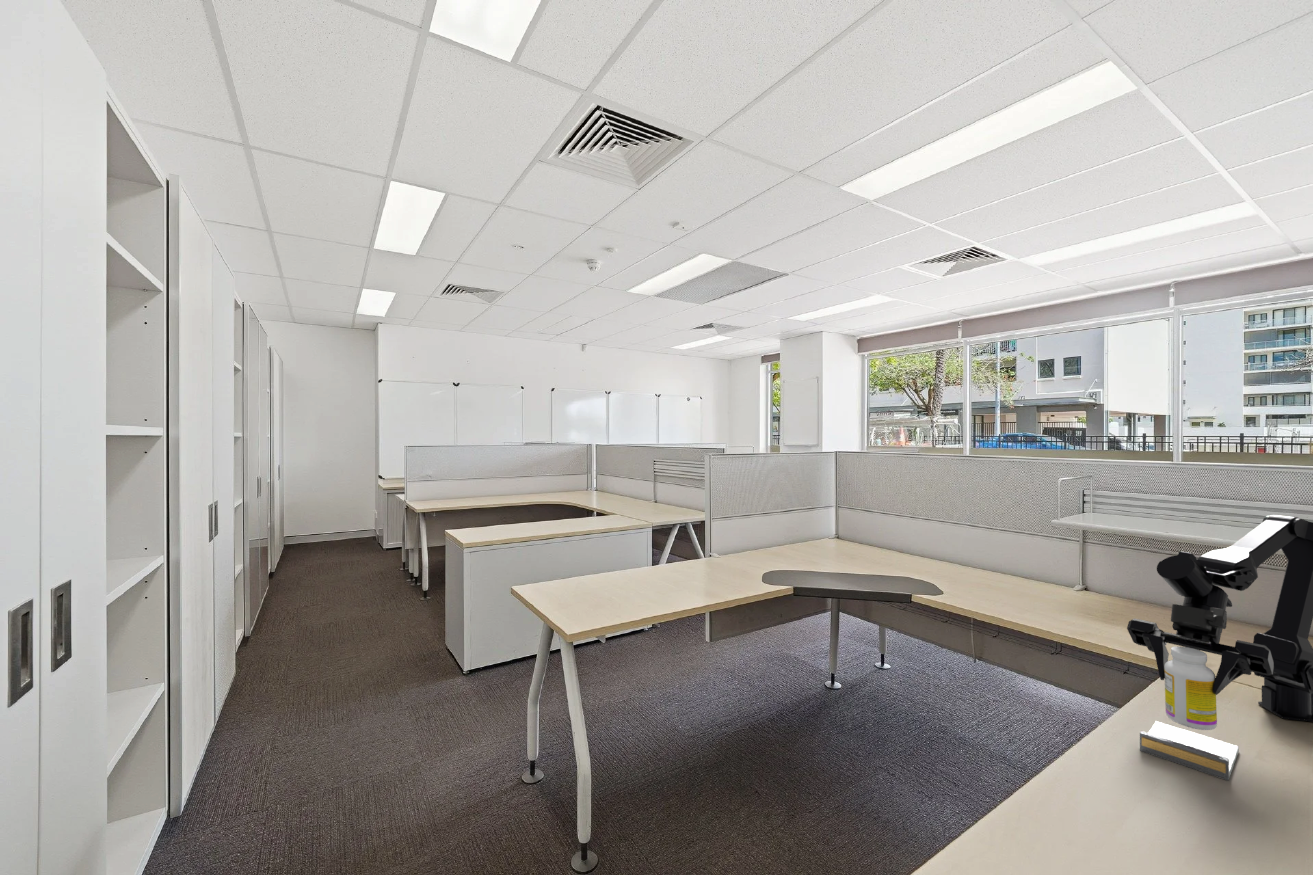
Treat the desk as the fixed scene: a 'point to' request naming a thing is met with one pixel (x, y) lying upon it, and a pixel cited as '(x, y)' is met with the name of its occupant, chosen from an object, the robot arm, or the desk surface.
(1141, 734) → the grey metal slab
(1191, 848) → the desk surface
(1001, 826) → the desk surface
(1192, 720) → the supplement bottle
